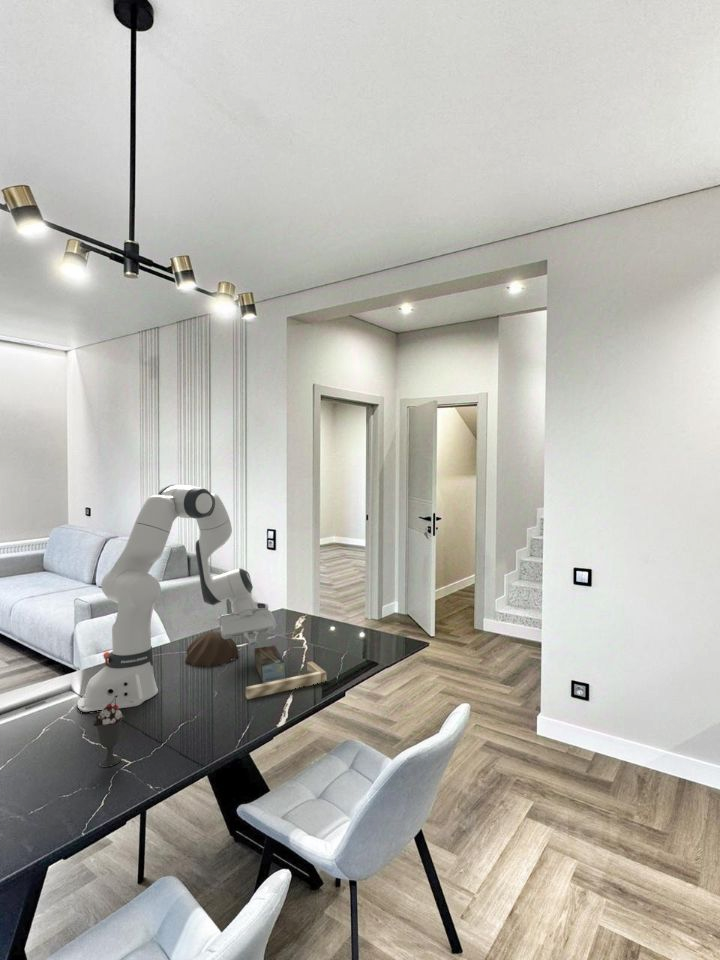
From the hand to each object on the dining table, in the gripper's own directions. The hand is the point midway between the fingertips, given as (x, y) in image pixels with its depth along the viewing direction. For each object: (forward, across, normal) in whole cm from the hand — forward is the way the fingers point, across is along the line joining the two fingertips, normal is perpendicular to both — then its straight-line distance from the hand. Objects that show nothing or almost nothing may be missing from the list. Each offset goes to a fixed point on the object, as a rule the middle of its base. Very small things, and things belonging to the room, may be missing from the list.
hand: (252, 644), depth 191 cm
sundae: (+40, -49, -31) cm, 71 cm away
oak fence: (+23, +2, -14) cm, 27 cm away
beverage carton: (+14, +2, -5) cm, 15 cm away
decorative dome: (-4, -12, +14) cm, 19 cm away
